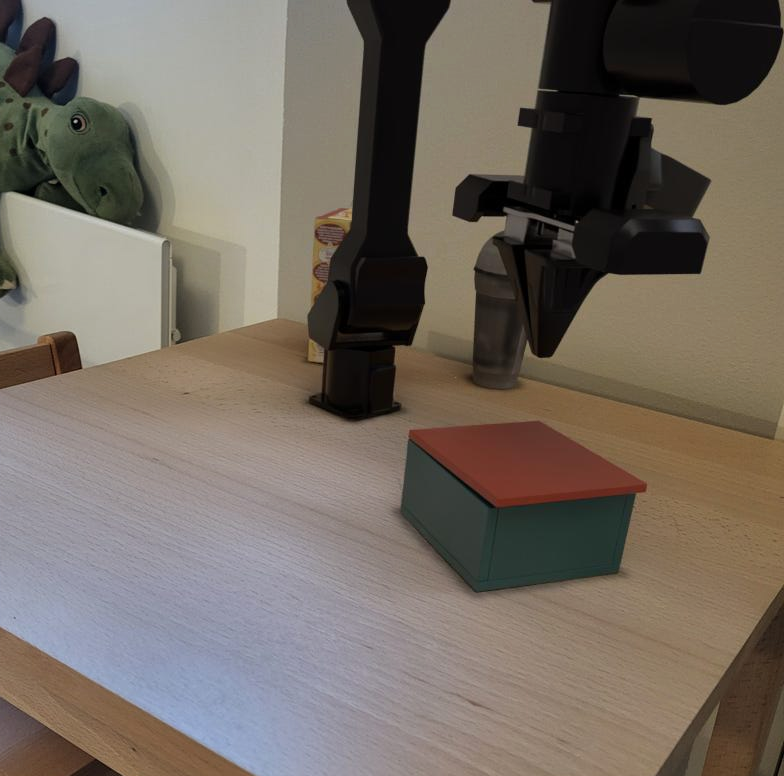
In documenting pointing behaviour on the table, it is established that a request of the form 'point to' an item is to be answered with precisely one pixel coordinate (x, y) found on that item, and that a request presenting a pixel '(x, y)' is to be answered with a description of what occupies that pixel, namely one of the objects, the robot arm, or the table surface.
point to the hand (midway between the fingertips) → (541, 356)
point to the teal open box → (512, 530)
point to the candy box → (325, 259)
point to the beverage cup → (496, 323)
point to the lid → (524, 463)
